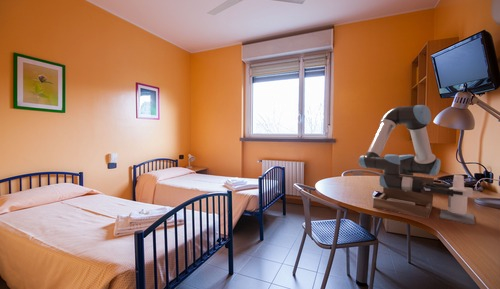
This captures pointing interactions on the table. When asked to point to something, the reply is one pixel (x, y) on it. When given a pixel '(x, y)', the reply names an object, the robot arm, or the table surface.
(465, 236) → the table surface
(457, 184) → the spray bottle
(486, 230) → the table surface
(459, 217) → the mat
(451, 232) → the table surface
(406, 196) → the rack
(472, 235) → the table surface
